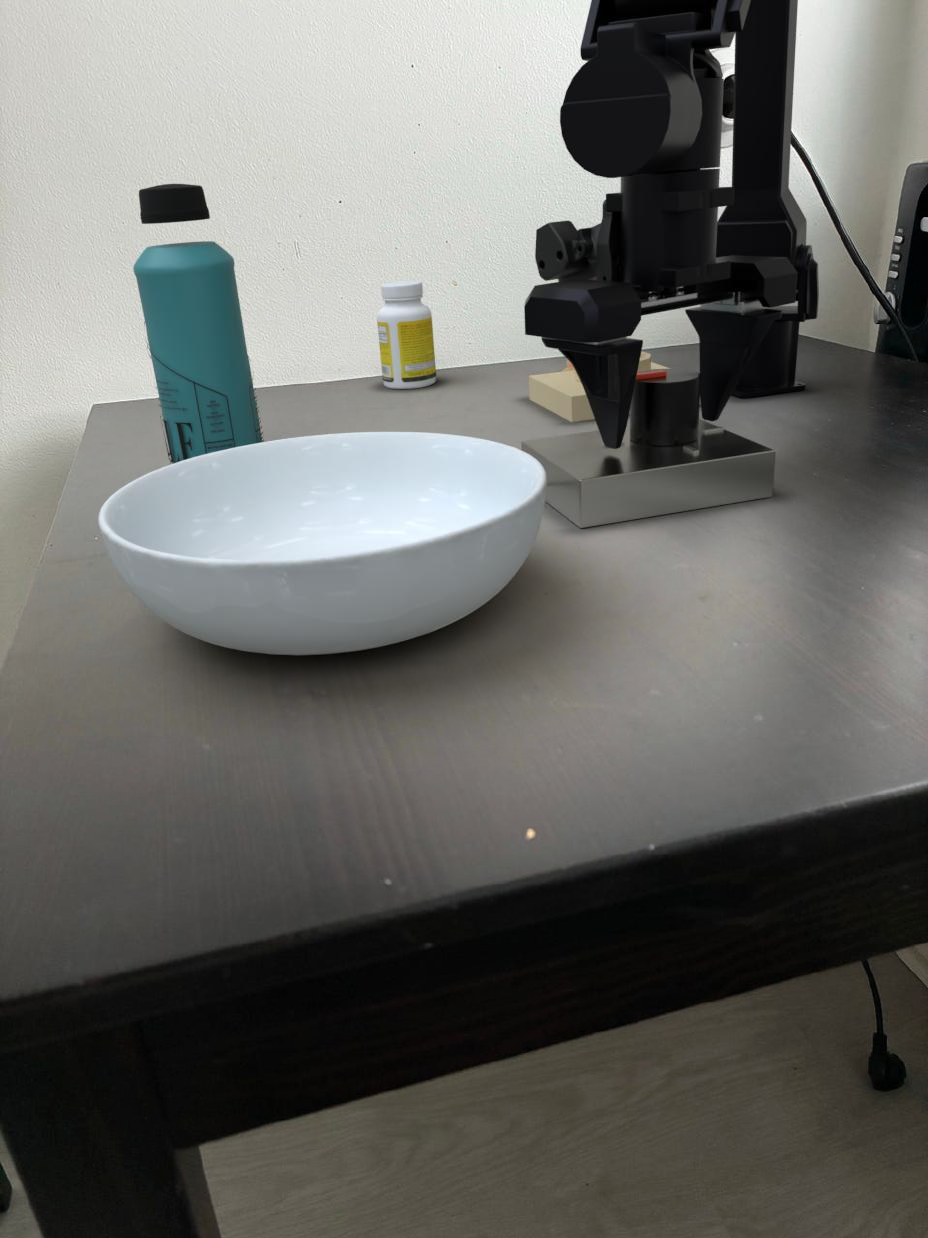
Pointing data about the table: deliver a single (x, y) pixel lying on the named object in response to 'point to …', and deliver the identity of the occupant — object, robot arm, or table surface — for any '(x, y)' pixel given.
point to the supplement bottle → (406, 337)
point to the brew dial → (665, 407)
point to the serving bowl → (326, 538)
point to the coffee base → (571, 391)
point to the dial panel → (650, 474)
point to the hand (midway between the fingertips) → (662, 433)
